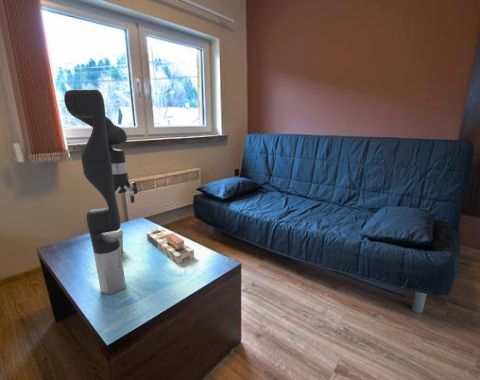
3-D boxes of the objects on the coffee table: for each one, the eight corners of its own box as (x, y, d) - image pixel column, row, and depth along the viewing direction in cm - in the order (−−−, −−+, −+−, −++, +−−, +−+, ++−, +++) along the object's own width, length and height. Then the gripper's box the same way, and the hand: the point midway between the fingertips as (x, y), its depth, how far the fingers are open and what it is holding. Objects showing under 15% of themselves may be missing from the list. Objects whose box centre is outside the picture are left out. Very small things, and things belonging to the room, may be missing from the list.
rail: (194, 257, 126) (193, 250, 125) (177, 264, 121) (176, 256, 120) (162, 234, 153) (161, 228, 152) (146, 239, 147) (146, 232, 146)
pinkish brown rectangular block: (185, 256, 128) (183, 240, 125) (178, 258, 125) (177, 242, 123) (173, 247, 136) (172, 233, 134) (167, 250, 134) (166, 235, 132)
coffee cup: (103, 253, 131) (100, 232, 128) (118, 246, 139) (115, 225, 136) (115, 257, 128) (111, 235, 124) (129, 250, 135) (126, 228, 132)
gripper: (105, 175, 116) (110, 209, 120) (136, 171, 126) (140, 203, 130) (100, 173, 122) (105, 206, 126) (131, 169, 131) (134, 200, 135)
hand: (123, 204), depth 128 cm, fingers open, 8 cm apart
